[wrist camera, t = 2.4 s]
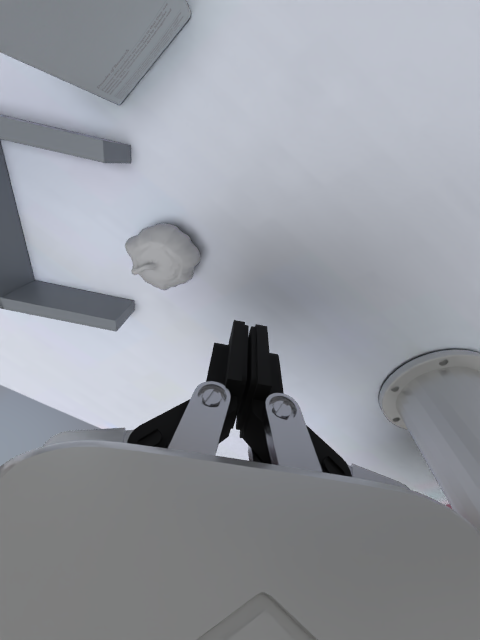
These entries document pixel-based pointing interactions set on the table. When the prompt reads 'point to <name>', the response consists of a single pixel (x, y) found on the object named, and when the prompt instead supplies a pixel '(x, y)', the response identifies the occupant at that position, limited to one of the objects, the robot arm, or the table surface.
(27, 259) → the box
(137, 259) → the garlic
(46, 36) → the supplement box
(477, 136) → the table surface
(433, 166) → the table surface
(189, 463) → the robot arm
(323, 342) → the table surface
